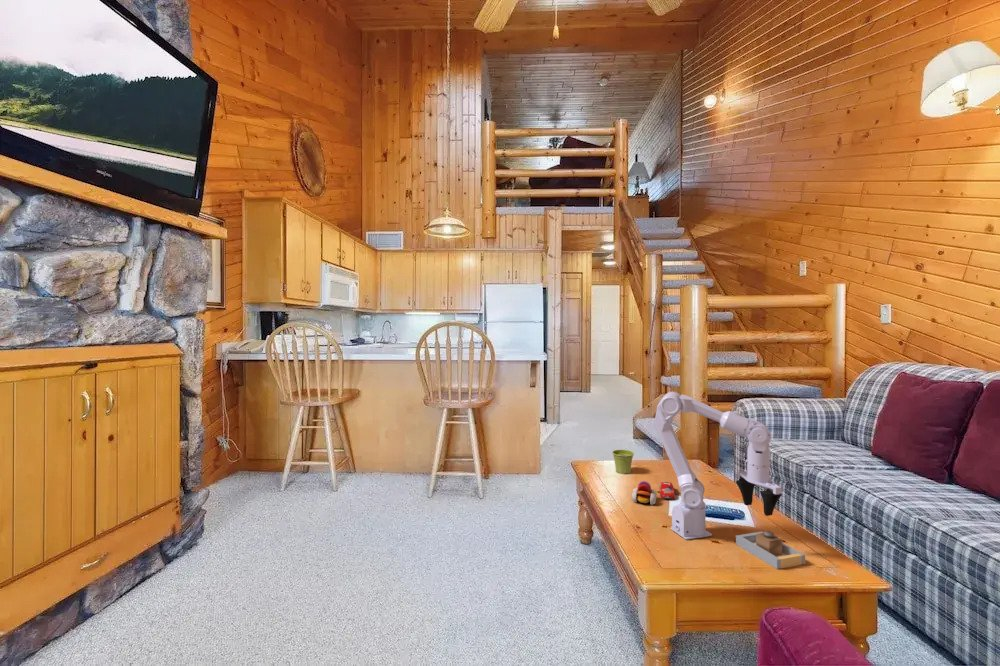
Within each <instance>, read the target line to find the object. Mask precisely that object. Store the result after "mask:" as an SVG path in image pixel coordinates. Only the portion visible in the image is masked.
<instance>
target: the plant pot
mask: <svg viewBox="0 0 1000 666" xmlns="http://www.w3.org/2000/svg"><path fill="white" fill-rule="evenodd" d="M611 454H612V455H613V458H614V459H613V460H614V466H615V472H617V474H621V475H625V474H630V473H631V470H632V463H633V462H632V461H633V457H634V455H635V452H634V451H632V450H628V449H614V450H613V451H612V452H611Z"/></svg>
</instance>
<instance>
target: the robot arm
mask: <svg viewBox="0 0 1000 666" xmlns="http://www.w3.org/2000/svg"><path fill="white" fill-rule="evenodd" d="M681 410H682V411H681ZM680 411H681V412H682V414H686V413H691V412H692V413H695V414H698V415H699V416H700V415H701V416H703V417H705V418H708V419H710V420H713V421H715V422H718V423H719V425H720V426H721V428H722V429H724V430H726V431H728V432H730V433H732V434H735V435H737V436H739V437H741V438H745V439H746V438H747V439H748V446H747V447H746V448H747V452H746V453H747V457H746V458H747V459H746V461H747V463H746V464H747V465H746V468H747V471H743V470H739V471H737V472H736V478H738V480H735V483H736V485H737V487H738V488H739V491H740V494H741V496H742V501H743V505H745V506H752V505H753V496H754V495H753V493H754V490H755V486H757V487H760V488H762V489H765V490H761V491H759V493H760V495H761V498H762V503H763V513H764V516H766V517H769V516H773V514H774V510H775V506H776V505H777V504H778V503H777V502H778V501H779V499H780V498H781V497H782V495H783V493H782V487H781V486H780V485H778V484H776V482H774V481H772V478H770V466H771V465H770V464H771V463H770V459H771V458H770V455H771V454H770V452H771V451H770V442H771V440H772V436H771V432H770V429H769V428H768V427H767V426H766V425H765V424H764V423H762V421H758V420H755V419H754V418H747V417H746V416H743V415H740V414H739V412H738V411H736V410H733V411H731V410H727V411H725V412H723V411H721V410H718V409H716V408H715V407H713V406H710V405H708V404H706V403H704V402H702V401H699V400H697V399H695V398H693V397H691V396H688V395H686V394H680V393H679V392H677V391H668V392H667V393H665V394H664V396H663V397H662V398H661V399H660V400H659V403H658V404H657V406H656V412H655V415H654V416H655V418H654V422H653V423H654V424H653V425H654V427H655V429H656V431H657V434H658V437H659V439H660V440H661V443H662V445H663V447H664V449H665V452H666V454H667V457H668V459H669V462H670V463H671V466H672V468H673V470H674V472H675V474H676V477H677V483H678V486H679V489H680V492H681V493H680V503H678V504H677V505H674V506H673V507H672V510H671V527H670V530H672V531H673V532H675V534H677V535H679V536H681V537H682V538H683V539H684V540H692V539H693V540H694V539H700V538H708V537H712V536H713V533H711V532H709V531H708V530H706V502H705V501H704V494H705V486H704V484H703V483H702V482H701V481H700V480H699V479H698V478H697V476H696V473H694V471H693V470H692V468H691V466H690V463H689V461H688V459H687V456H686V454H685V452H684V450H683V447H682V445H681V443H680V441H679V438H678V437H677V434H676V432H675V429H674V427H673V425H672V423H673V421H674V418H675V416H677V415H678V414H679V413H680Z"/></svg>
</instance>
